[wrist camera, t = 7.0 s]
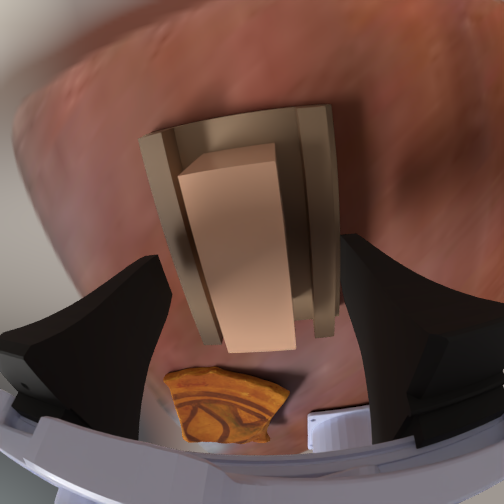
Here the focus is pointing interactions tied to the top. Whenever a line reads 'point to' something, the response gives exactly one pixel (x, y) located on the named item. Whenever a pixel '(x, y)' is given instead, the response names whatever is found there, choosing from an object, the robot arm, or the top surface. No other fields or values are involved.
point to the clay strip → (243, 245)
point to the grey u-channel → (293, 196)
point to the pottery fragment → (224, 405)
